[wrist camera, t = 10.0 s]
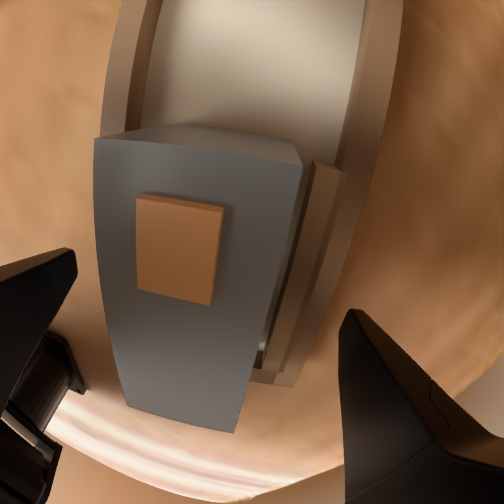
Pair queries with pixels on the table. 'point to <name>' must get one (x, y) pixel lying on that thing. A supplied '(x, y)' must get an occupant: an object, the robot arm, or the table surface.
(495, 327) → the table surface
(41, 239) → the table surface
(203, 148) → the grey box with label
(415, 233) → the table surface
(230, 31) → the tray
